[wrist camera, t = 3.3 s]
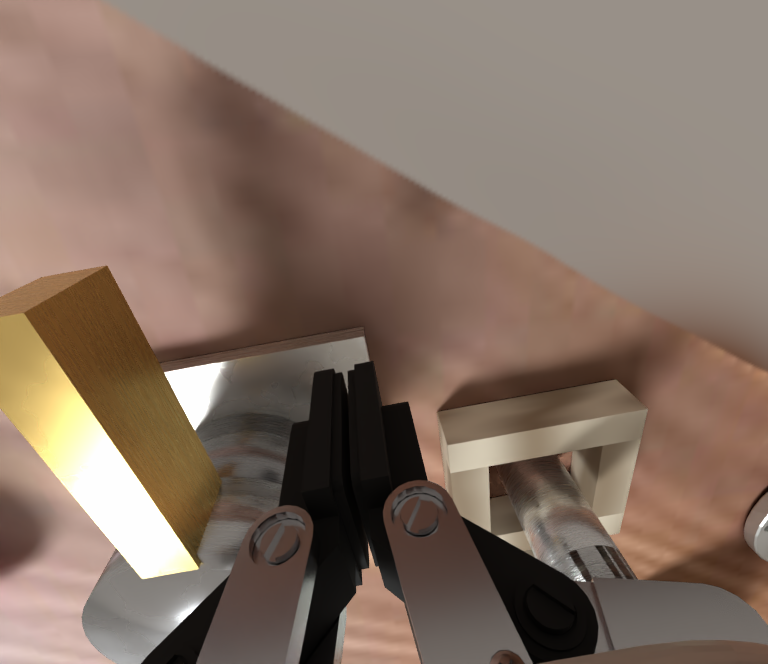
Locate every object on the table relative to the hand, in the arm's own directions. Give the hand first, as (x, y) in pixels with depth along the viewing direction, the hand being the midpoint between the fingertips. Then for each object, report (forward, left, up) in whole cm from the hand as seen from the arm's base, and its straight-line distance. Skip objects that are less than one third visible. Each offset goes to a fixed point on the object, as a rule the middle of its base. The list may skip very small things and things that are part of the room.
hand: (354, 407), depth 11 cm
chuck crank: (+7, +4, -2) cm, 8 cm away
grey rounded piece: (-8, +12, -7) cm, 17 cm away
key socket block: (-8, +12, -7) cm, 17 cm away
